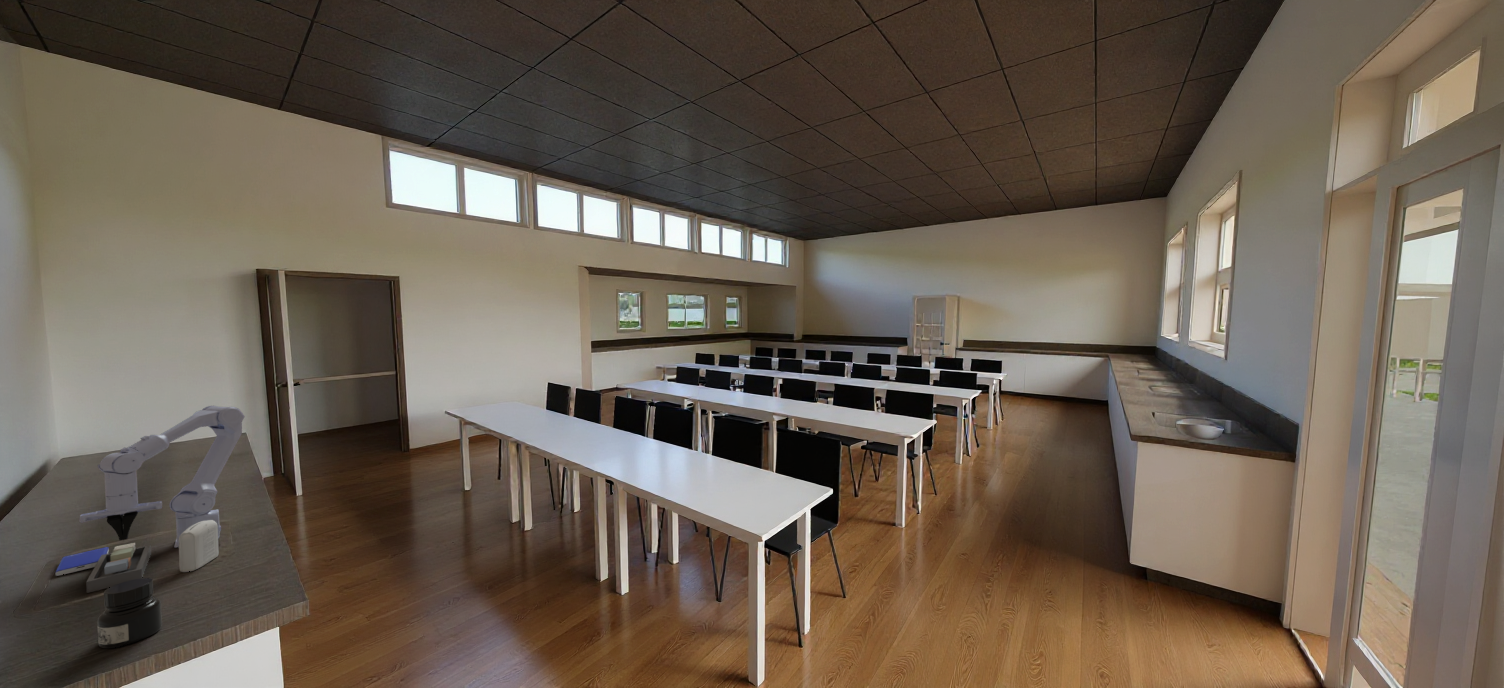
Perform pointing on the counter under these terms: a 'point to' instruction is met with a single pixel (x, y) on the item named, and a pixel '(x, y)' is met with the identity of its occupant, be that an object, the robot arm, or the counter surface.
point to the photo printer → (198, 545)
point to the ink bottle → (129, 613)
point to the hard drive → (80, 561)
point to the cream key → (125, 547)
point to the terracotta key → (128, 562)
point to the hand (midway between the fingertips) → (123, 538)
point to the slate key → (116, 566)
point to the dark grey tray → (134, 572)
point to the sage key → (121, 554)
